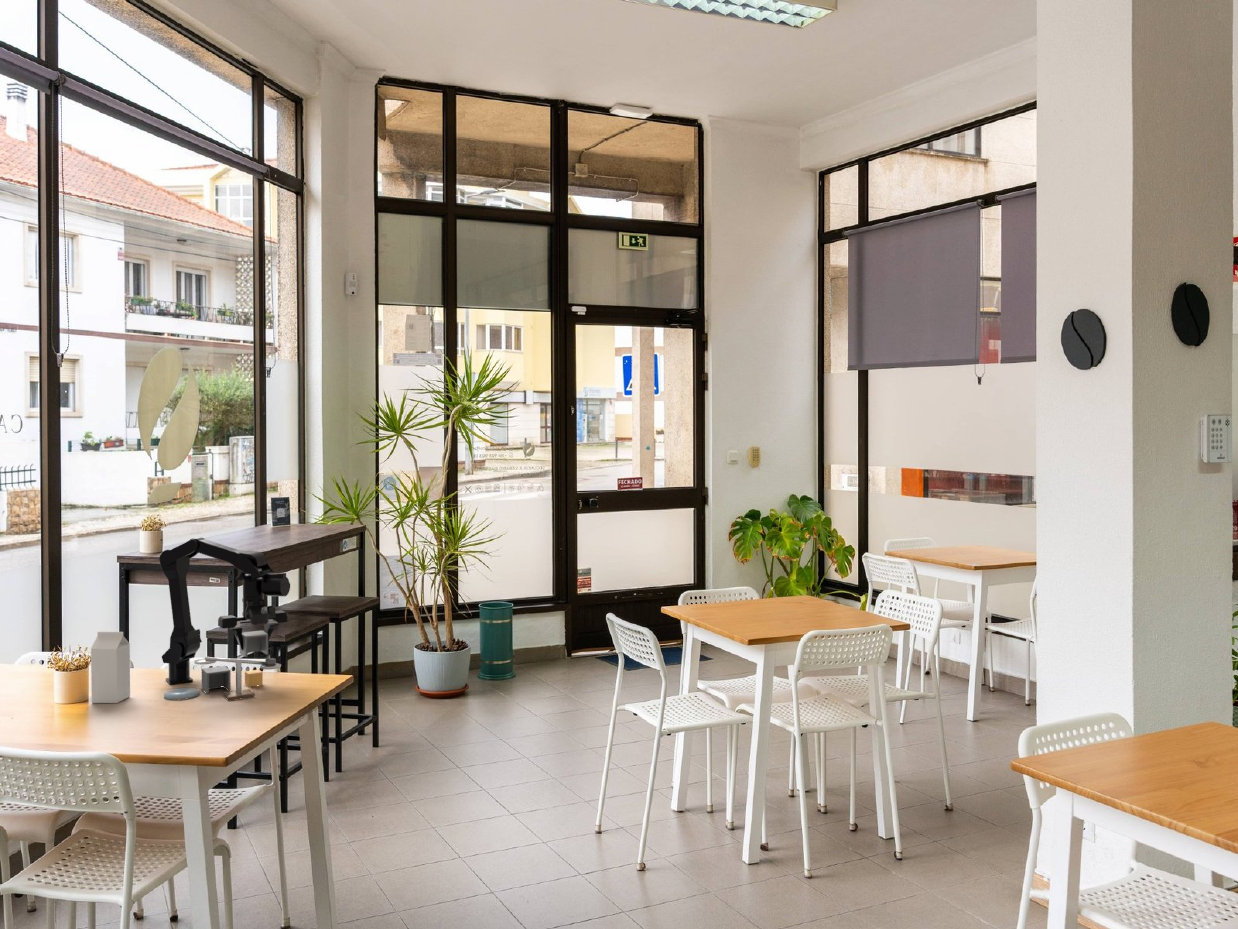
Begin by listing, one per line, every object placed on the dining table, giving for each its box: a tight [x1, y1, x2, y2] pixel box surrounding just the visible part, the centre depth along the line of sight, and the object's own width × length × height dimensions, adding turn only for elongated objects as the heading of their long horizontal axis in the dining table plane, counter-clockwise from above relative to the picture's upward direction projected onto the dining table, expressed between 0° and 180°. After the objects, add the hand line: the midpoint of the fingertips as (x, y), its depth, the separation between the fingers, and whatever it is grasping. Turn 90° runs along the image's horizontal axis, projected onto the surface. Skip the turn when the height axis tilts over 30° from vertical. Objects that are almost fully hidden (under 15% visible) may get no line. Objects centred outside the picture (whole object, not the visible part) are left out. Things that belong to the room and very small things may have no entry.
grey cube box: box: [201, 665, 232, 695], centre depth 288 cm, size 6×6×6 cm
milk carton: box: [90, 631, 131, 704], centre depth 276 cm, size 7×7×19 cm
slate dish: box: [163, 687, 200, 701], centre depth 281 cm, size 9×9×1 cm
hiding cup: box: [239, 630, 269, 658], centre depth 293 cm, size 6×6×6 cm
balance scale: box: [194, 656, 282, 702], centre depth 281 cm, size 6×23×12 cm, turn 125°
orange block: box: [244, 669, 264, 688], centre depth 294 cm, size 4×4×4 cm
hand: (253, 648), depth 293 cm, fingers closed on hiding cup, 6 cm apart
